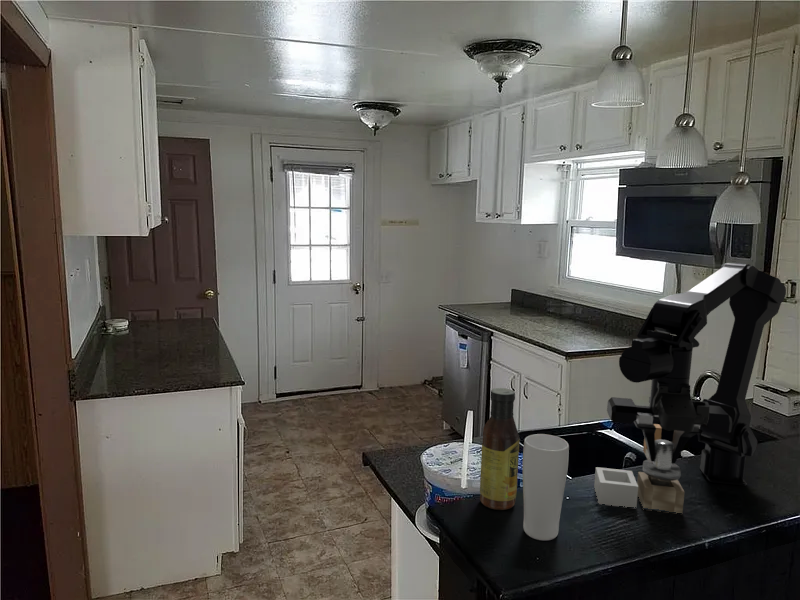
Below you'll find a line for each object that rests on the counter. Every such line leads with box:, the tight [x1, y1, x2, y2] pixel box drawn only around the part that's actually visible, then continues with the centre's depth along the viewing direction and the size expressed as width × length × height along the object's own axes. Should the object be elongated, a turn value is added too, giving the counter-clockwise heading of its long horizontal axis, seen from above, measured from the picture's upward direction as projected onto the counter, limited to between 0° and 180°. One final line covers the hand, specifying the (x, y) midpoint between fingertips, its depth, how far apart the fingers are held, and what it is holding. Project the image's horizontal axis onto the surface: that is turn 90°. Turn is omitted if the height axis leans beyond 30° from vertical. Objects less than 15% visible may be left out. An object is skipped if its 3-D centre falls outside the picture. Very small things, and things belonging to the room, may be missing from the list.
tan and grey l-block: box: [642, 423, 663, 460], centre depth 107 cm, size 2×5×5 cm, turn 168°
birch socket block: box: [636, 471, 685, 514], centre depth 101 cm, size 6×6×4 cm
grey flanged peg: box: [642, 438, 682, 487], centre depth 100 cm, size 6×6×9 cm
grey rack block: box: [593, 466, 638, 509], centre depth 102 cm, size 6×6×4 cm
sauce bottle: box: [479, 387, 520, 511], centre depth 98 cm, size 7×6×20 cm
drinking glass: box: [521, 433, 570, 542], centre depth 90 cm, size 7×7×15 cm
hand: (662, 461), depth 100 cm, fingers closed on grey flanged peg, 3 cm apart
